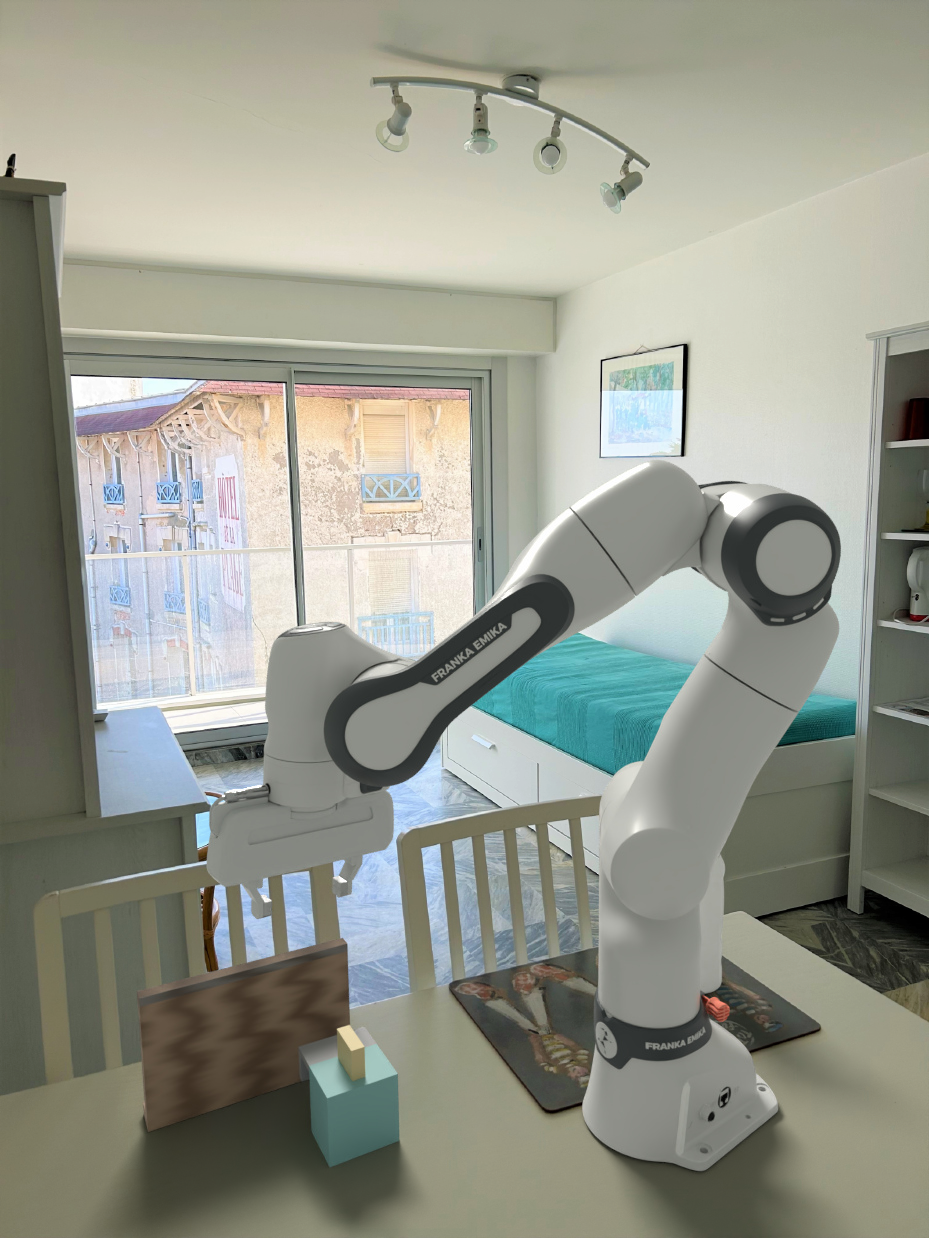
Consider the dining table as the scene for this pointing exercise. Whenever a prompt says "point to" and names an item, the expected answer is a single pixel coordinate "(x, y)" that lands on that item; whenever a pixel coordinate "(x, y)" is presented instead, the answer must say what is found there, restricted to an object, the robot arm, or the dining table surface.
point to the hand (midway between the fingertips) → (302, 904)
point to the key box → (350, 1094)
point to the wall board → (237, 1029)
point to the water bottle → (712, 929)
